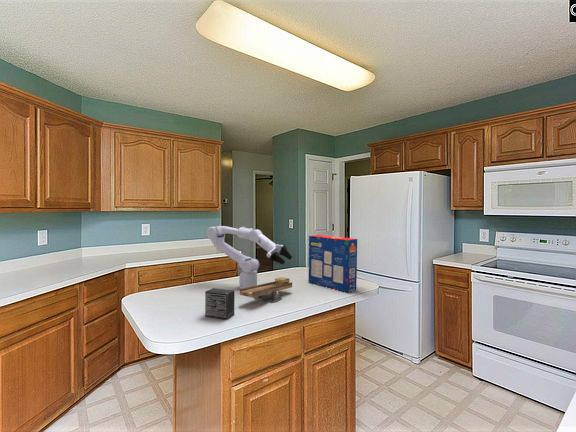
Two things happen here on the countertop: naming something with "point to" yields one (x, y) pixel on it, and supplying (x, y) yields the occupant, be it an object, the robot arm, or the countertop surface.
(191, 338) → the countertop surface
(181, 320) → the countertop surface
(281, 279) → the block
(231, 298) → the small box
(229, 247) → the robot arm
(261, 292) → the beam
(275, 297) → the fulcrum
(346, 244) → the blue game box
